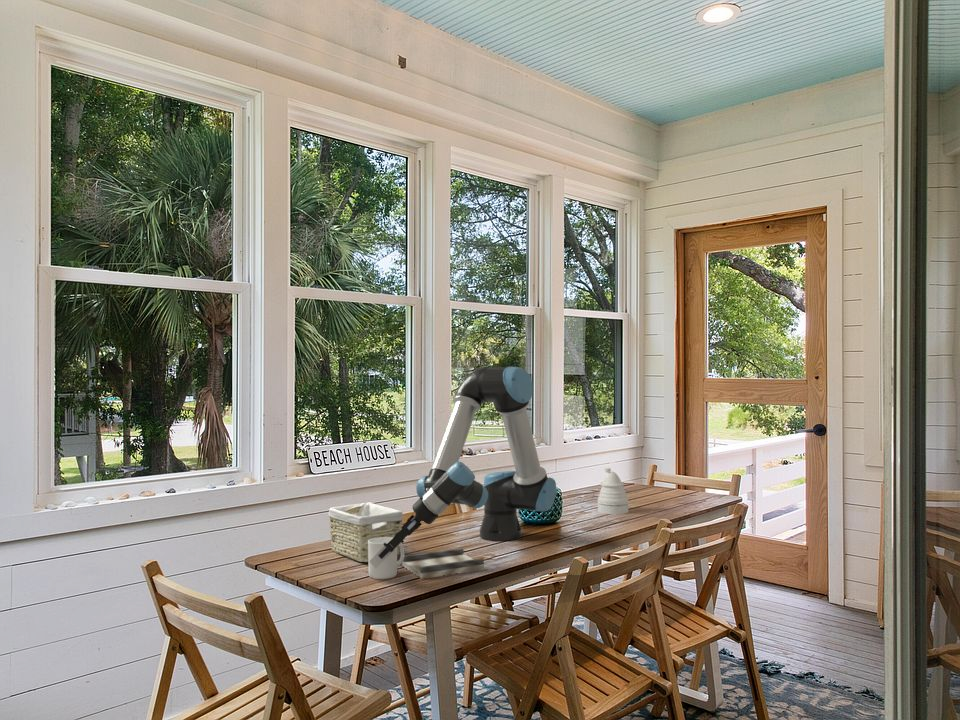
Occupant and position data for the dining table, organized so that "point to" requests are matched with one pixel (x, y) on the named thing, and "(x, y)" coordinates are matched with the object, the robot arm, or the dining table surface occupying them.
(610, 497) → the honey pot
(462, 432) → the robot arm
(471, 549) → the dining table surface
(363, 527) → the storage basket
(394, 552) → the cup
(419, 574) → the rail board
